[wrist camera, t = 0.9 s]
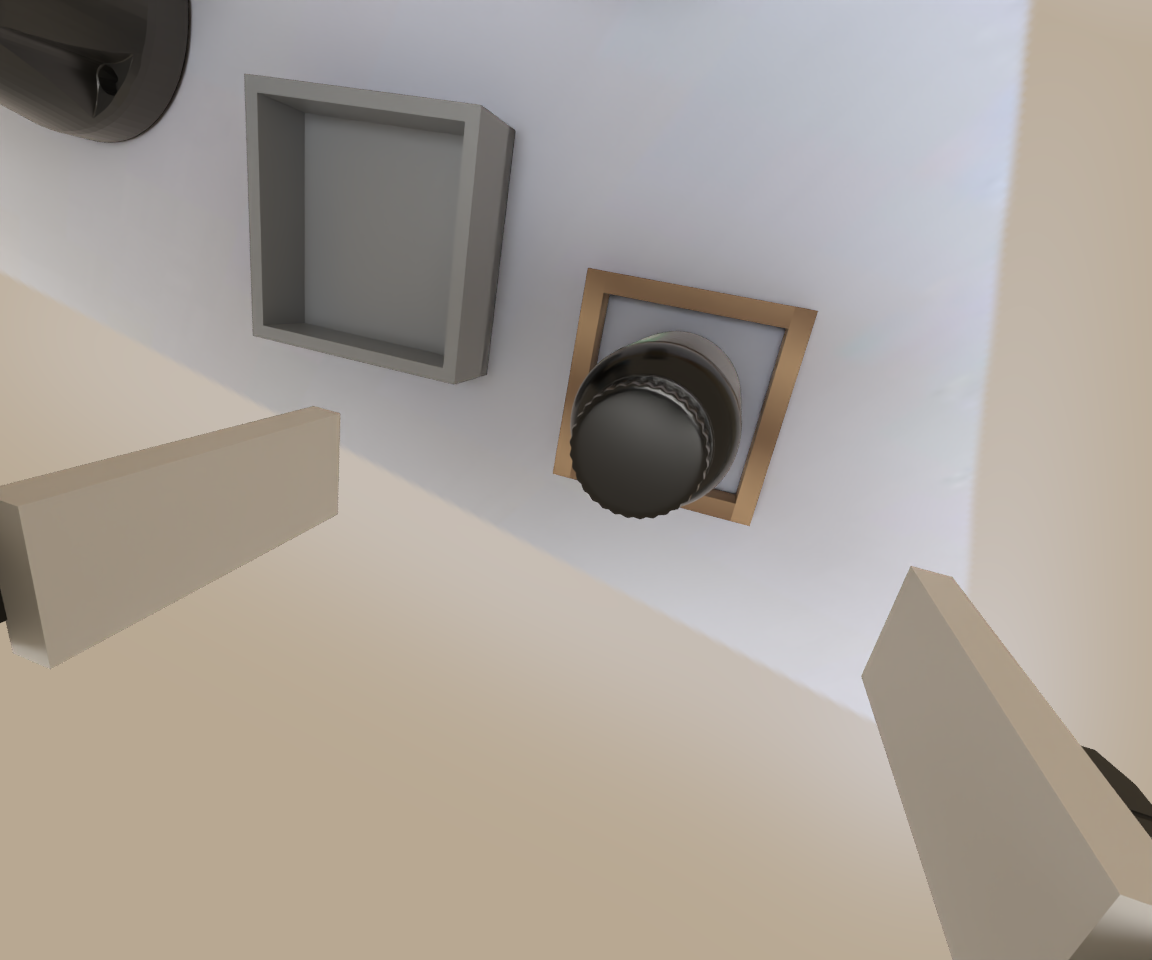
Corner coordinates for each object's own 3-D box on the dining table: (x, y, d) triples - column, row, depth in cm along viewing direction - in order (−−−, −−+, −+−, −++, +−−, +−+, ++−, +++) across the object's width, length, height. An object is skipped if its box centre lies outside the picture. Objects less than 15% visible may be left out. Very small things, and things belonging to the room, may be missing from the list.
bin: (304, 100, 30) (244, 73, 27) (515, 130, 28) (481, 105, 24) (304, 331, 35) (252, 335, 31) (486, 374, 32) (453, 384, 29)
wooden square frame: (595, 269, 29) (587, 267, 27) (813, 310, 27) (817, 311, 25) (560, 466, 33) (552, 473, 31) (749, 515, 31) (749, 526, 29)
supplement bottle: (627, 316, 29) (560, 328, 18) (758, 347, 28) (771, 379, 17) (600, 439, 32) (525, 515, 21) (719, 472, 30) (707, 571, 19)
